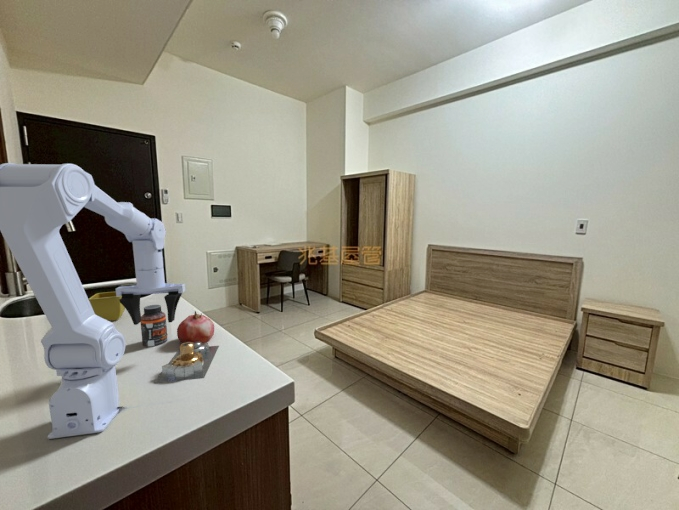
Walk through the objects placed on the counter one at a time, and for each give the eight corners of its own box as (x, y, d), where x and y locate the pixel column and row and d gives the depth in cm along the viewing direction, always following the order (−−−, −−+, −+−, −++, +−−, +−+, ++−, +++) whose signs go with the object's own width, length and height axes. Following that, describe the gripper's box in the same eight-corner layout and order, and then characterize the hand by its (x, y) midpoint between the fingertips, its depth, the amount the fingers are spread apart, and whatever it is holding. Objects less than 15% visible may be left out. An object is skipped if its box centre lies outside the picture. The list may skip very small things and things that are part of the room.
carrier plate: (204, 382, 63) (204, 376, 63) (153, 387, 61) (153, 381, 61) (219, 349, 79) (219, 344, 78) (179, 352, 77) (179, 347, 76)
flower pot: (99, 317, 103) (96, 292, 102) (129, 313, 107) (126, 290, 106) (90, 325, 95) (87, 299, 94) (123, 321, 99) (120, 296, 98)
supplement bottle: (156, 351, 77) (152, 310, 76) (137, 349, 78) (133, 309, 77) (172, 341, 83) (169, 304, 82) (155, 340, 84) (151, 302, 83)
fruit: (180, 339, 85) (177, 306, 83) (215, 334, 88) (213, 303, 87) (175, 353, 76) (172, 317, 75) (214, 347, 79) (212, 312, 78)
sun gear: (205, 356, 72) (205, 347, 72) (179, 359, 71) (178, 349, 71) (211, 346, 78) (210, 337, 78) (187, 348, 77) (186, 339, 76)
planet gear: (200, 368, 66) (199, 347, 65) (170, 373, 64) (168, 352, 63) (204, 356, 72) (202, 337, 71) (176, 360, 70) (174, 340, 69)
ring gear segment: (200, 376, 63) (199, 366, 63) (159, 381, 62) (158, 370, 61) (203, 370, 66) (203, 360, 66) (164, 374, 64) (163, 364, 64)
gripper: (187, 264, 75) (191, 314, 77) (124, 266, 72) (130, 318, 74) (178, 269, 68) (182, 324, 70) (108, 271, 65) (114, 329, 67)
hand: (154, 322), depth 71 cm, fingers open, 7 cm apart
